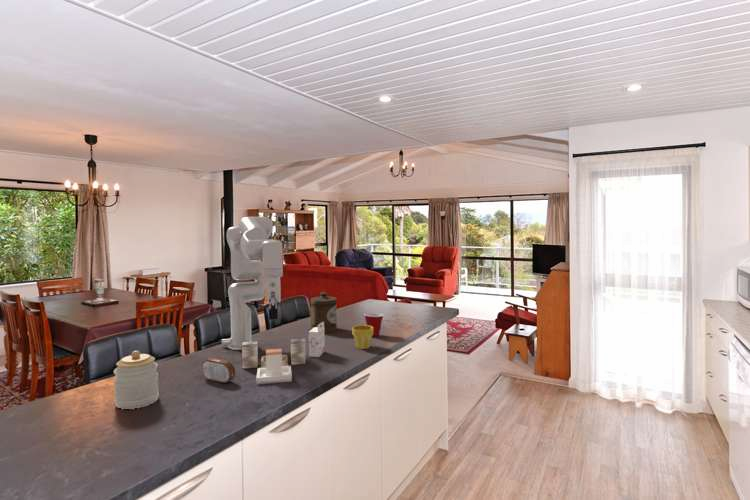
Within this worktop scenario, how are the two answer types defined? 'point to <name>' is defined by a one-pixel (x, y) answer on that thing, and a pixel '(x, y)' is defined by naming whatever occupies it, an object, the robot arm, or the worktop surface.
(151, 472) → the worktop surface
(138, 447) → the worktop surface
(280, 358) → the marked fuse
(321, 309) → the wooden container
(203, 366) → the tin
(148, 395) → the jar
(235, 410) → the worktop surface
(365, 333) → the plant pot
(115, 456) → the worktop surface
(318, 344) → the ink cartridge box
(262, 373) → the tray
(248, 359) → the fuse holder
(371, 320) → the plastic cup
